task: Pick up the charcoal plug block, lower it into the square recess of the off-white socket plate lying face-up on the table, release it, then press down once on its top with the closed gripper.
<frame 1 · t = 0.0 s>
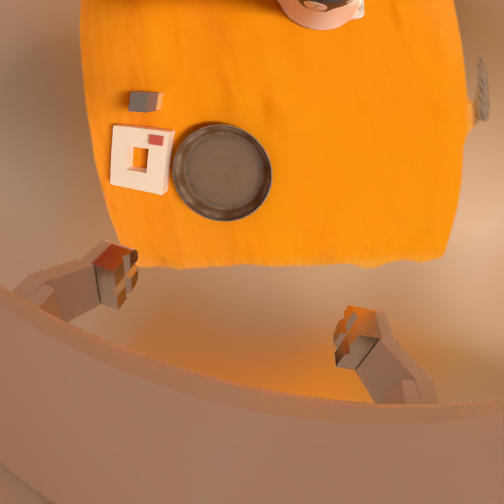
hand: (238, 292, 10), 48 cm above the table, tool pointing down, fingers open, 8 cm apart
plant saucer: (224, 171, 57), on the table
plug: (154, 100, 50), on the table
socket plate: (143, 156, 57), on the table
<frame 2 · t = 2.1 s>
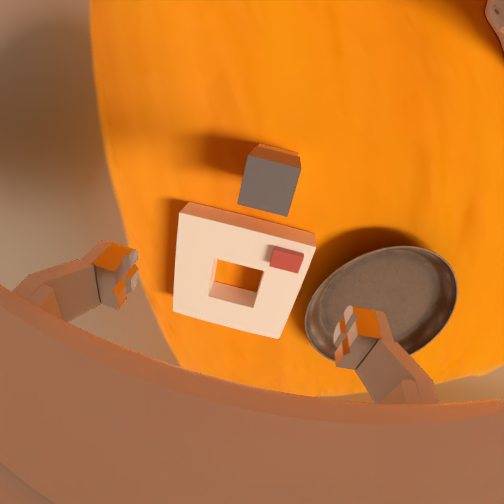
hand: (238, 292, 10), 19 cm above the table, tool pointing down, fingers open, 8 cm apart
plant saucer: (380, 301, 34), on the table
plug: (274, 165, 27), on the table
socket plate: (239, 269, 33), on the table
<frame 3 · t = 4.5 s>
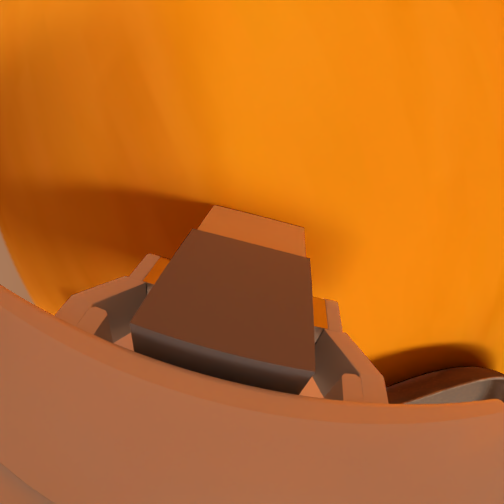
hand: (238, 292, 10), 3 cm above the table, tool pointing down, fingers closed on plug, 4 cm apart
plant saucer: (409, 414, 19), on the table
plug: (249, 254, 12), on the table, touching gripper
socket plate: (201, 391, 19), on the table
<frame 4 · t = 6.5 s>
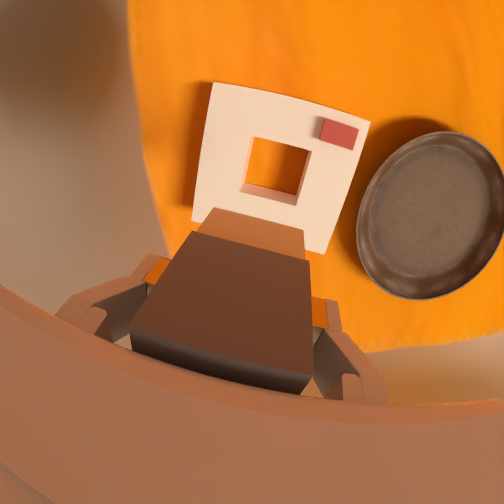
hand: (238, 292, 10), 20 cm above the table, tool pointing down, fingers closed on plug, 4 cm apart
plant saucer: (432, 214, 27), on the table
plug: (248, 256, 12), point 17 cm above the table, touching gripper
socket plate: (276, 163, 27), on the table
when the fingers open (5 cm above the table, at t = 9.0 s): plug drops 2 cm, resting in socket plate.
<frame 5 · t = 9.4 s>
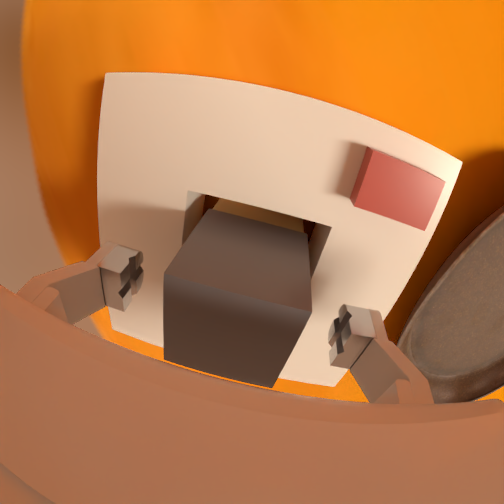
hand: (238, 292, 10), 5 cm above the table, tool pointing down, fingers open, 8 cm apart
plant saucer: (497, 299, 14), on the table
plug: (254, 235, 14), resting in socket plate
socket plate: (253, 235, 14), on the table
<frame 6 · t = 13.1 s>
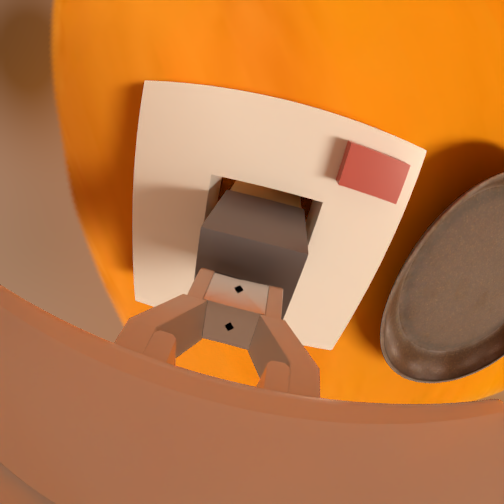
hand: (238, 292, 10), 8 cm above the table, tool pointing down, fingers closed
plant saucer: (479, 277, 17), on the table
plug: (261, 215, 17), resting in socket plate
socket plate: (260, 214, 17), on the table
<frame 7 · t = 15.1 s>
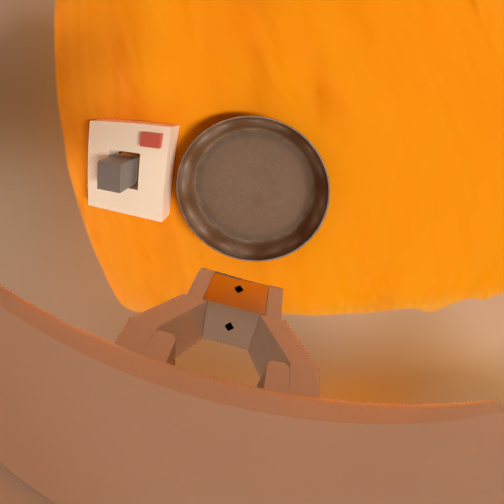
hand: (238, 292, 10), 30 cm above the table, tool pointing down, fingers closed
plant saucer: (253, 187, 39), on the table
plug: (133, 164, 39), resting in socket plate
socket plate: (133, 164, 39), on the table
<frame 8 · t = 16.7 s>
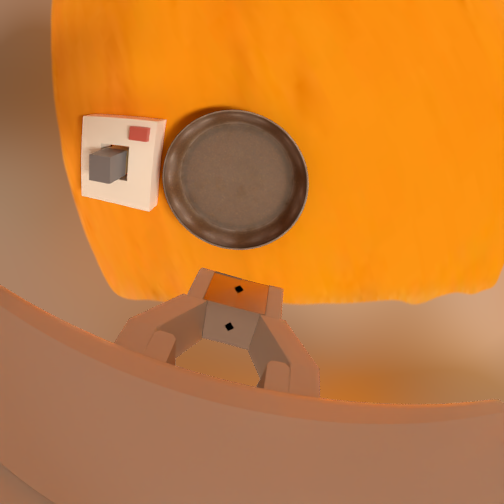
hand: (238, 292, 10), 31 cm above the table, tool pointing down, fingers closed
plant saucer: (236, 178, 40), on the table
plug: (123, 157, 40), resting in socket plate
socket plate: (123, 157, 40), on the table
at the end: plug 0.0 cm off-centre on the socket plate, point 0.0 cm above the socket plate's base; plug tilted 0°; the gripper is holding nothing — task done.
